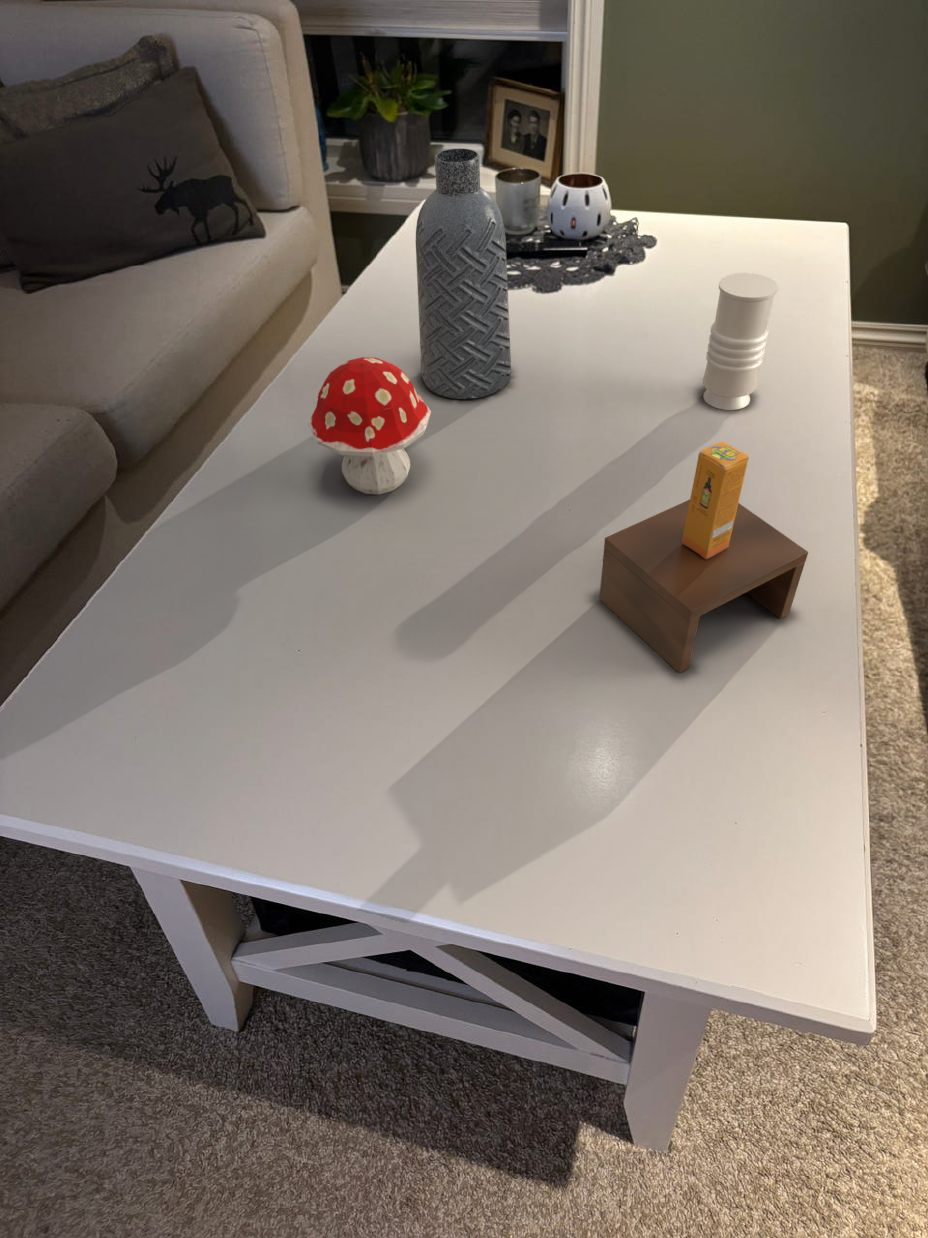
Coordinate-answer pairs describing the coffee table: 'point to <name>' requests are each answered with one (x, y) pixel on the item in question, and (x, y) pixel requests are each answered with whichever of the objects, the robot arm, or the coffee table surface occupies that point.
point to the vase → (462, 283)
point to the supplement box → (714, 499)
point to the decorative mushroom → (369, 422)
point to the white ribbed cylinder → (738, 339)
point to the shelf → (693, 577)
